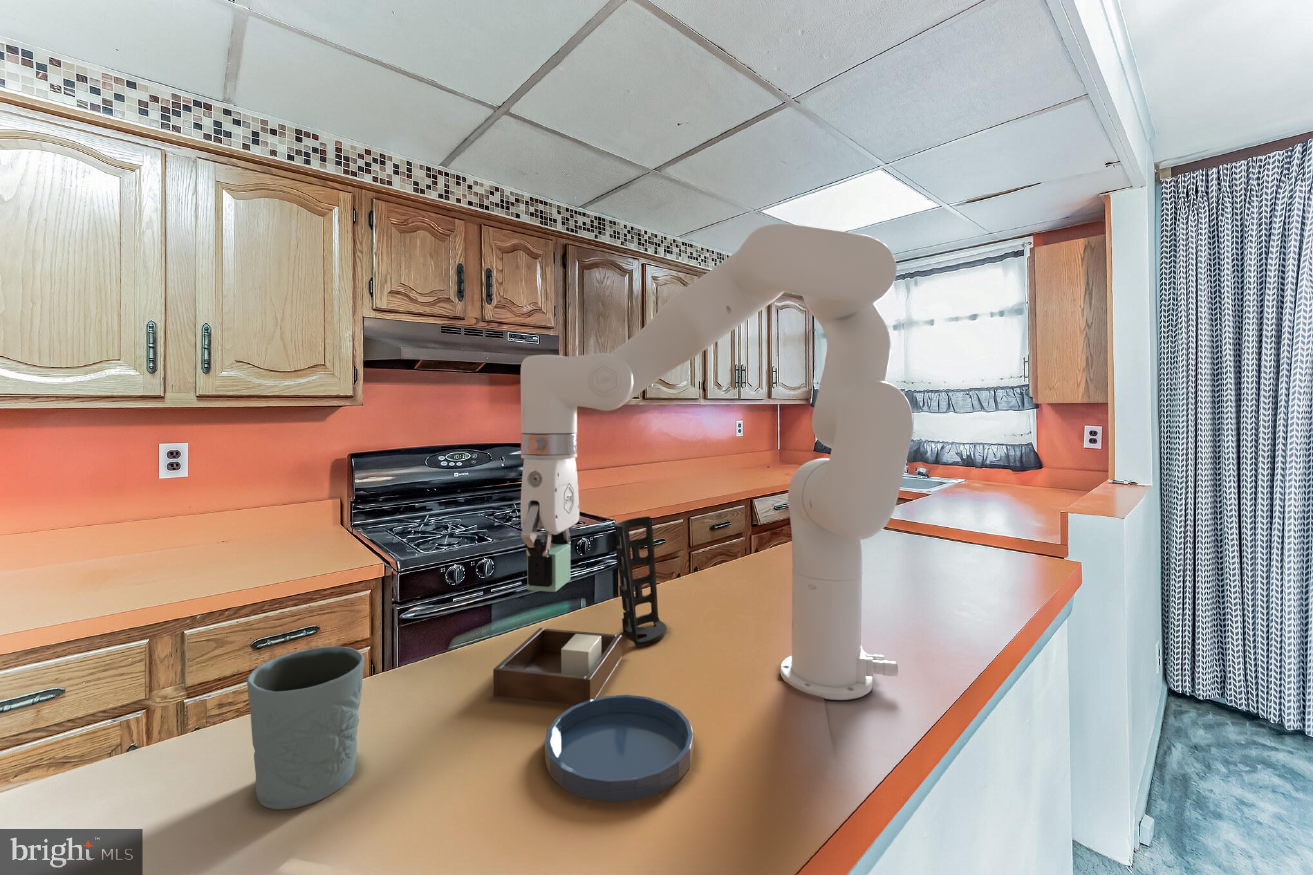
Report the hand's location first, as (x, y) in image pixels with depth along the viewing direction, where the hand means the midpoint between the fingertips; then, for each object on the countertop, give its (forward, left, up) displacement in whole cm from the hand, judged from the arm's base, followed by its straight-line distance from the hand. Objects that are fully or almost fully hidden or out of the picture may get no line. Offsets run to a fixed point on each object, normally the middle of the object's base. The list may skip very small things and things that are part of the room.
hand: (549, 577), depth 74 cm
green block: (0, 0, -1) cm, 1 cm away
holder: (-7, -21, -16) cm, 27 cm away
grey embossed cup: (+17, +23, -16) cm, 32 cm away
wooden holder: (0, -3, -16) cm, 16 cm away
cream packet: (-3, -3, -15) cm, 16 cm away
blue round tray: (-13, +12, -16) cm, 24 cm away
